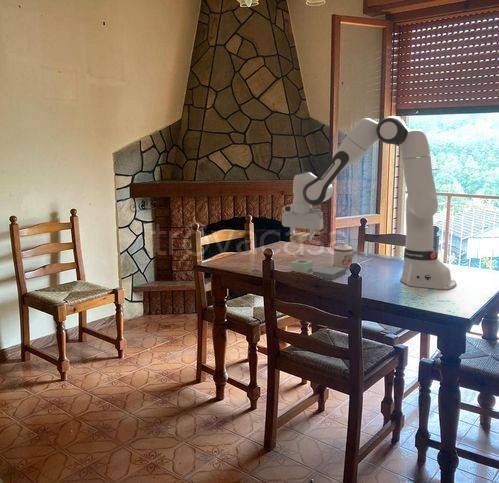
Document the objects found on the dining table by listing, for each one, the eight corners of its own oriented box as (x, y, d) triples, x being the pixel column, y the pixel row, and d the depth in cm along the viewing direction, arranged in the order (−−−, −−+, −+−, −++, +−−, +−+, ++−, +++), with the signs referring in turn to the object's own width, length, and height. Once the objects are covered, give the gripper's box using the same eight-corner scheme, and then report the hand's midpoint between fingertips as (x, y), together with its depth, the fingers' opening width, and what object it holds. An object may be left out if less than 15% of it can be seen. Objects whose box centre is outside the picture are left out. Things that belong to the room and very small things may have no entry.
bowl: (312, 270, 243) (312, 261, 243) (304, 273, 238) (304, 264, 237) (299, 268, 248) (299, 259, 247) (291, 271, 242) (291, 262, 241)
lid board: (313, 237, 242) (313, 233, 241) (302, 241, 234) (302, 237, 233) (301, 236, 246) (301, 232, 245) (290, 239, 238) (290, 235, 237)
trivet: (346, 273, 237) (346, 268, 237) (332, 279, 227) (332, 274, 226) (326, 270, 243) (326, 265, 242) (312, 276, 233) (312, 271, 232)
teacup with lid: (343, 269, 244) (344, 245, 242) (329, 266, 251) (329, 242, 249) (360, 265, 252) (361, 241, 249) (345, 262, 259) (346, 239, 256)
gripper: (326, 208, 233) (325, 239, 236) (287, 205, 245) (287, 234, 248) (319, 210, 228) (318, 241, 231) (280, 207, 240) (280, 236, 243)
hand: (302, 237), depth 240 cm, fingers closed on lid board, 6 cm apart
